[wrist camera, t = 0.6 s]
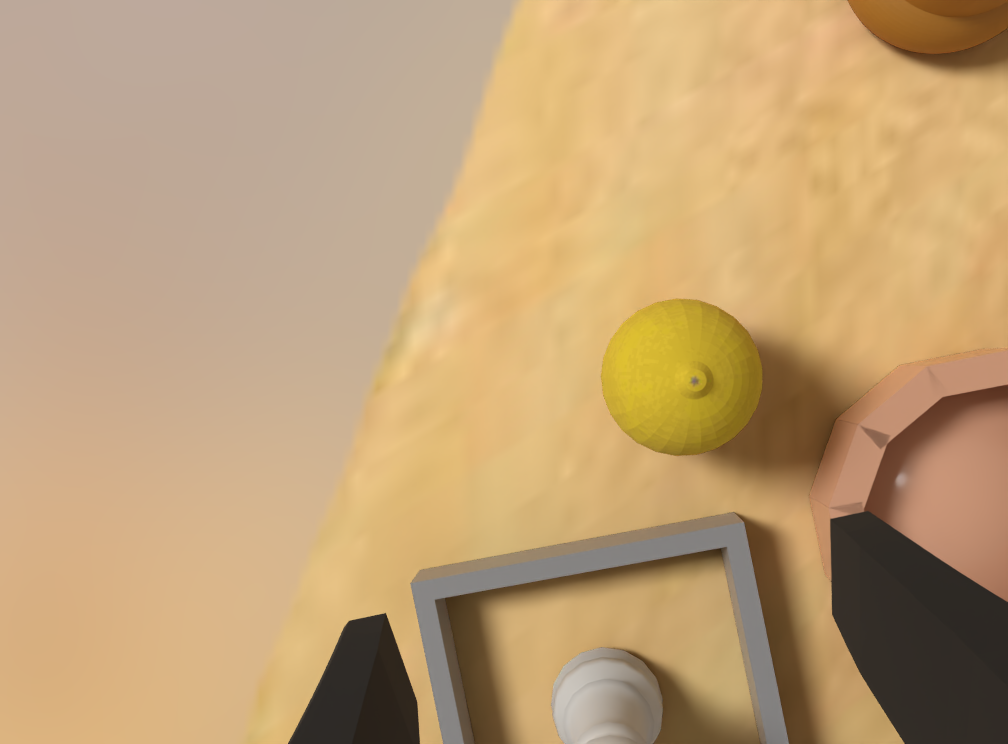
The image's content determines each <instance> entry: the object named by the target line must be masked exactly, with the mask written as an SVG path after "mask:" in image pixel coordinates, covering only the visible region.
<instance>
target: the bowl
mask: <svg viewBox="0 0 1008 744" xmlns="http://www.w3.org/2000/svg"><path fill="white" fill-rule="evenodd" d="M809 498H810V503H811V508H812V512H813V517H814V522H815V527H816V532H817V537H818V542H819V547H820V552H821V557H822V562H823V567H824V572H825V575H826V576H827V578H828V579H829V580H830V581H831V540H830V519H832V518H837V517H841V516H846V515H851V514H855V513H860V512H865V511H869V512H871V513H872V514H874V515H875V516H877V517H878V518H880V519H881V520H883V521H884V522H886V523H887V524H889V525H890V526H891V527H893V528H894V529H896V530H897V531H899V532H900V533H902V534H903V535H905V536H906V537H908V538H909V539H911V540H912V541H914V542H915V543H917V544H918V545H920V546H921V547H923V548H924V549H925V550H927V551H928V552H930V553H931V554H933V555H934V556H936V557H937V558H939V559H940V560H942V561H943V562H945V563H946V564H948V565H950V566H951V567H953V568H954V569H956V570H957V571H959V572H960V573H962V574H963V575H965V576H967V577H968V578H970V579H971V580H973V581H975V582H976V583H978V584H979V585H981V586H983V587H984V588H986V589H987V590H989V591H991V592H992V593H994V594H995V595H997V596H999V597H1000V598H1002V599H1004V600H1005V601H1007V602H1008V348H1001V349H980V350H974V351H969V352H964V353H959V354H954V355H949V356H944V357H939V358H934V359H929V360H924V361H918V362H913V363H908V364H903V365H899V366H898V367H897V368H896V369H895V370H893V371H892V372H891V373H890V374H889V375H887V376H886V377H885V378H884V379H883V380H882V381H880V382H879V383H878V384H877V385H876V386H875V387H873V388H872V389H871V390H870V391H869V392H867V393H866V394H865V395H864V396H863V397H862V398H860V399H859V400H858V401H857V402H856V403H854V404H853V405H852V406H851V407H850V408H849V409H847V410H846V411H845V412H844V413H843V414H841V415H840V416H839V417H838V418H837V419H836V421H835V424H834V426H833V429H832V432H831V435H830V438H829V441H828V443H827V446H826V449H825V452H824V455H823V458H822V460H821V463H820V466H819V469H818V472H817V475H816V477H815V480H814V483H813V486H812V489H811V492H810V494H809Z"/></svg>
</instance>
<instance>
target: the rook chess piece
mask: <svg viewBox="0 0 1008 744" xmlns="http://www.w3.org/2000/svg"><path fill="white" fill-rule="evenodd" d="M662 701H663V699H662V695H661V692H660V688H659V685H658V682H657V678H656V677H655V676H654V675H653V673H652V672H651V671H650V670H649V668H648V667H647V666H646V665H645V663H644V662H643V661H642V660H640V659H638V658H636V657H635V656H633V655H631V654H629V653H627V652H626V651H624V650H618V649H610V648H603V647H601V648H597V649H593V650H590V651H586V652H582V653H580V654H579V655H577V656H576V657H575V658H573V659H572V660H571V661H569V662H568V663H567V664H566V665H564V666H563V668H562V670H561V672H560V674H559V675H558V677H557V679H556V681H555V683H554V684H553V694H552V703H551V706H552V710H553V713H552V715H553V719H554V722H555V725H556V729H557V732H558V735H559V737H560V738H561V740H562V741H563V742H564V743H565V744H653V743H654V741H655V740H656V738H657V736H658V734H659V733H660V730H661V724H662V715H663V706H662Z"/></svg>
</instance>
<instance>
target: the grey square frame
mask: <svg viewBox="0 0 1008 744" xmlns="http://www.w3.org/2000/svg"><path fill="white" fill-rule="evenodd" d="M717 548H721V552H722V557H723V562H724V567H725V572H726V577H727V582H728V587H729V591H730V596H731V601H732V606H733V611H734V616H735V621H736V626H737V631H738V636H739V641H740V646H741V650H742V655H743V660H744V665H745V670H746V675H747V680H748V685H749V690H750V695H751V700H752V705H753V709H754V714H755V719H756V724H757V729H758V734H759V739H760V744H789V741H788V736H787V732H786V727H785V722H784V717H783V712H782V707H781V702H780V697H779V692H778V687H777V682H776V677H775V672H774V668H773V663H772V658H771V653H770V648H769V643H768V638H767V633H766V628H765V623H764V618H763V613H762V608H761V604H760V599H759V594H758V589H757V584H756V579H755V574H754V569H753V564H752V559H751V554H750V549H749V544H748V540H747V535H746V530H745V525H744V522H743V521H742V520H741V519H740V518H739V517H738V516H737V515H736V514H735V513H734V512H732V513H727V514H722V515H716V516H711V517H705V518H700V519H694V520H689V521H684V522H678V523H673V524H667V525H662V526H657V527H651V528H646V529H640V530H635V531H629V532H624V533H619V534H613V535H608V536H602V537H597V538H591V539H586V540H581V541H575V542H570V543H564V544H559V545H553V546H548V547H543V548H537V549H532V550H526V551H521V552H515V553H510V554H505V555H499V556H494V557H488V558H483V559H477V560H472V561H467V562H461V563H456V564H450V565H445V566H440V567H434V568H429V569H423V570H420V571H419V572H418V573H417V575H416V576H415V578H414V579H413V580H412V582H411V588H412V593H413V598H414V603H415V608H416V613H417V617H418V622H419V627H420V632H421V637H422V642H423V647H424V652H425V656H426V661H427V666H428V671H429V676H430V681H431V686H432V691H433V696H434V700H435V705H436V710H437V715H438V720H439V725H440V730H441V735H442V739H443V744H475V742H474V737H473V732H472V727H471V722H470V717H469V712H468V707H467V703H466V698H465V693H464V688H463V683H462V678H461V673H460V668H459V663H458V659H457V654H456V649H455V644H454V639H453V634H452V629H451V624H450V620H449V615H448V610H447V605H446V600H445V598H446V597H452V596H457V595H463V594H468V593H474V592H480V591H485V590H491V589H496V588H502V587H507V586H513V585H518V584H524V583H529V582H535V581H540V580H546V579H551V578H557V577H562V576H568V575H574V574H579V573H585V572H590V571H596V570H601V569H607V568H612V567H618V566H623V565H629V564H634V563H640V562H645V561H651V560H656V559H662V558H668V557H673V556H679V555H684V554H690V553H695V552H701V551H706V550H712V549H717Z"/></svg>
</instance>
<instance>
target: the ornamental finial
mask: <svg viewBox="0 0 1008 744" xmlns="http://www.w3.org/2000/svg"><path fill="white" fill-rule="evenodd" d="M848 2H849V4H850V6H851V8H852V10H853V11H854V13H855V14H856V16H857V17H858V18H859V20H860V21H861V22H862V23H863V24H864V25H865V26H866V27H867V28H868V29H869V30H870V31H871V32H872V33H874V34H875V35H876V36H878V37H879V38H881V39H882V40H884V41H886V42H888V43H890V44H892V45H894V46H896V47H899V48H902V49H905V50H909V51H913V52H918V53H928V54H940V53H950V52H956V51H961V50H964V49H968V48H971V47H974V46H976V45H979V44H981V43H983V42H985V41H988V40H989V39H991V38H993V37H995V36H996V35H998V34H1000V33H1001V32H1002V31H1004V30H1005V29H1007V28H1008V0H848Z"/></svg>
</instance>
